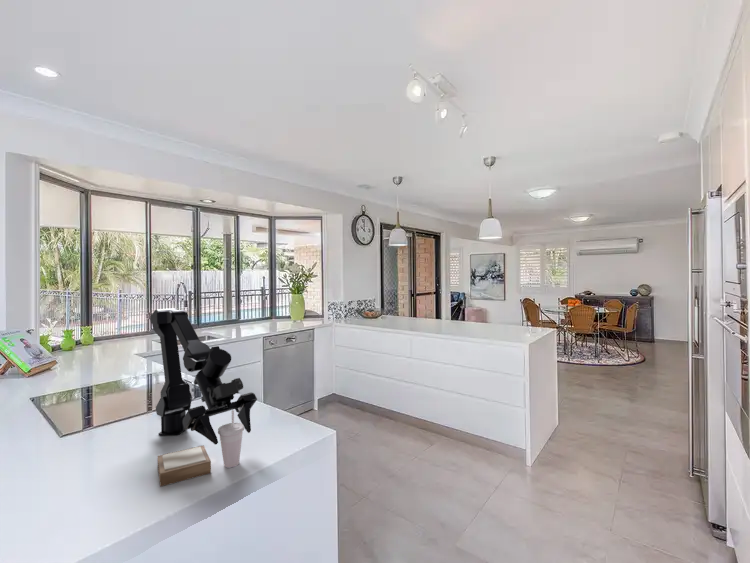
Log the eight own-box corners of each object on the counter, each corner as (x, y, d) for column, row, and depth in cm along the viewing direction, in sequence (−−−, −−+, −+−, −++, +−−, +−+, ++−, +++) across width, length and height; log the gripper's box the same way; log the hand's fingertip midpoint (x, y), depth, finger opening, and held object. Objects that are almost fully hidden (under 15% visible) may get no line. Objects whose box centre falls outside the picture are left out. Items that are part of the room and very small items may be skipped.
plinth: (157, 467, 98) (157, 454, 98) (203, 456, 104) (203, 444, 104) (160, 486, 89) (160, 472, 89) (210, 473, 95) (210, 460, 95)
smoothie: (235, 471, 96) (235, 415, 96) (213, 469, 97) (212, 414, 97) (249, 459, 102) (248, 407, 102) (227, 457, 103) (226, 405, 103)
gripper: (186, 377, 95) (209, 432, 88) (252, 363, 109) (276, 410, 102) (173, 402, 100) (194, 456, 93) (238, 386, 114) (260, 432, 107)
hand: (233, 437), depth 99 cm, fingers open, 9 cm apart
